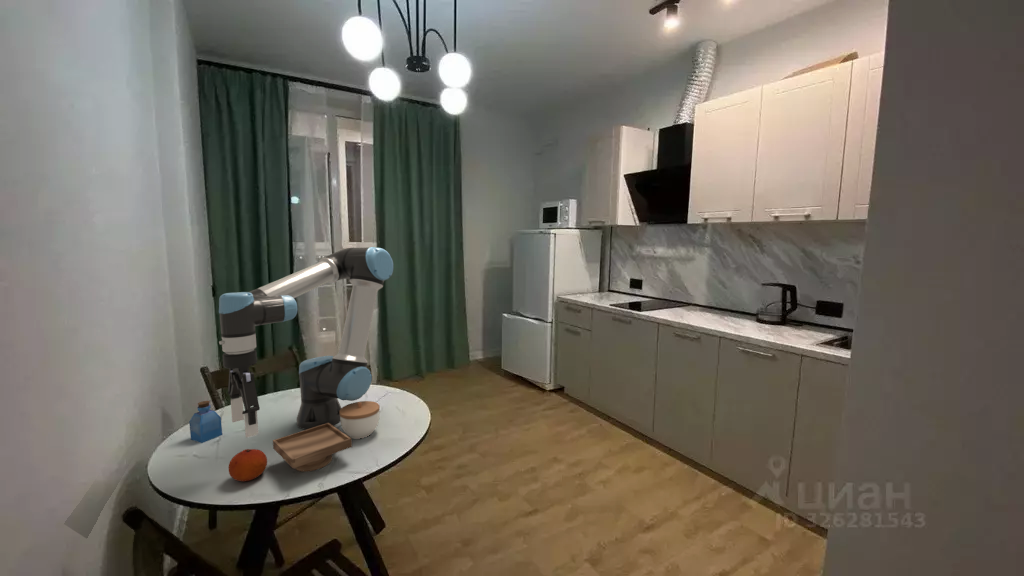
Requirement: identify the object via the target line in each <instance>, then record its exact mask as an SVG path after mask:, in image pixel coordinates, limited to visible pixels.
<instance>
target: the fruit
mask: <svg viewBox="0 0 1024 576" xmlns="http://www.w3.org/2000/svg"><path fill="white" fill-rule="evenodd" d="M267 466H268V458H267V456H266V454H265V452H263V451H262V450H260V449H255V448H254V449H253V448H252V449H250V448H246V449H243V450H241V451H240V452H239V453H237V454H235V455H233V456H232V458H231V460H230V461H229V463H228V474H229V476H230V477H231V478H232V479H234V481H239V482H250V481H252V480H255V479H256V478H258V477H259V476H261V475H262V474H263V473H264V472H265V470H266V468H267Z"/></svg>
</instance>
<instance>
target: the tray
mask: <svg viewBox="0 0 1024 576" xmlns="http://www.w3.org/2000/svg"><path fill="white" fill-rule="evenodd" d="M352 439H353V438H351V437H350V436H349V435H347V434H346V433H345V432H344V431H341V430H340V429H338V428H337V427H336V426H334V425H331V424H330V423H326V424H323V425H319V426H316V427H313V428H310V429H303V430H301V431H299V432H294V433H292V434H288V435H285V436H282V437H279V438H276V439H273V440H272V447H273V448H272V449H274V451H275V452H276V453H277V454H278V455H279V456H280V457H281V458H282V459H283V460H284V462H286V463H287V464H288V465H289V466H290V467H291V468H292V469H294V470H296V471H298V472H303V473H304V472H306V473H308V472H314V471H317V470H320V469H323V468H325V467H326V466H328V465H329V464H330V463H332V461H333V454H336V453H340V452H342V451H344V450H346V449H347V450H348V449H350V448H352V447H353V445H352V444H353V443H352V442H353V440H352Z"/></svg>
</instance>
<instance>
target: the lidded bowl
mask: <svg viewBox="0 0 1024 576" xmlns="http://www.w3.org/2000/svg"><path fill="white" fill-rule="evenodd" d="M380 409H381V407H380V403H378V402H376V401H372V400H361V401H354V402H351V403H348V404H346V405H344V406H341V409H340V411H339V413H340V426H341V428H342V430H343V433H344V434H346V435H347V436H349V437H350V438H351V439H353V440H354V439H355V440H359V439H360V438H362V439H365V438H364V437H366V438H367V436H368V437H370V436H371V435H372V434H373V432H374V431H375V430H376V429H377V427H378V425H379V421H380ZM371 433H372V434H371ZM370 434H371V435H370ZM369 435H370V436H369ZM360 440H361V439H360Z"/></svg>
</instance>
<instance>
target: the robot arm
mask: <svg viewBox="0 0 1024 576" xmlns="http://www.w3.org/2000/svg"><path fill="white" fill-rule="evenodd" d="M393 274H394V261H393V258H392V257H391V254H390V253H389V252H388V251H387V250H385V249H384V248H381V247H374V246H371V247H370V246H369V247H348V248H347V247H346V248H344V249H341V250H339V251H336V252H333V253H331V254H328V255H325V256H324V257H321V258H320V259H319V260H318V262H317V263H315V264H312V265H310V266H307V267H306V268H303V269H301V270H298V271H296V272H293V273H292V274H291V273H290V274H288V275H286V276H284V277H282V278H280V279H277V280H275V281H272V282H269V283H267V284H265V285H262V286H260V287H258V288H256V289H252V290H250V291H241V292H237V291H236V292H226V293H223V294H221V295H220V296H219V299H218V306H219V307H218V313H219V323H220V335H221V340H219V341H218V343H219V345H221V347H222V349H221V350H222V352H224V353H223V354H222V364H223V365H222V366H223V367H224V368H225V369H229V373H228V386H227V387H228V388H227V394H228V395H229V399H230V408H231V409H230V412H231V422H232V423H236V422H241V421H244V433H245V438H251V437H254V436H255V437H256V436H257V435H259V422H258V419H259V418H258V411H260V405H259V398H258V393H257V388H256V383H255V373H254V372H252V371H250V367H251V366H254V365H255V364H257V363H258V355H257V354H258V353H257V350H256V349H257V338H256V336H257V335H256V327H258V326H263V325H268V324H274V323H275V324H276V323H284V322H287V321H291V320H293V319H294V318H295V317H296V316H297V314H298V304H297V301H296V298H297V297H300V296H302V295H304V294H307V293H308V292H310V291H312V290H314V289H316V288H319V287H321V286H323V285H325V284H327V283H331V284H332V283H336V282H338V281H341V280H348V279H349V283H350V284H351V286H352V288H351V289H352V290H351V294H350V298H349V301H348V302H349V303H348V306H347V312H346V317H345V321H344V325H343V330H342V335H341V340H340V343H339V349H338V352H337V354H335V355H334V356H333V355H324V356H317V357H313V358H308V359H305V360H303V361H301V362H300V364H299V366H298V375H299V388H300V406H299V409H298V413H297V417H296V425H297V427H298V428H299V429H302V430H307V429H310V428H313V427H316V426H319V425H323V424H326V423H330V424H331V425H333V426H334V425H337V424H338V423H339V421H340V413H339V411H340V409H341V408H342V406H341V403H340V401H349V402H353V401H354V402H355V401H357V400H359V399H361V398H362V397H363V396H364V395H365V394H367V392H368V391H369V389H370V387H371V384H372V381H373V380H372V379H373V376H372V374H371V370H370V369H369V368H368V363H369V362H368V360H367V359H366V357H365V354H366V349H367V344H368V339H369V335H370V331H371V330H370V329H371V326H372V325H371V324H372V319H373V314H374V311H375V310H374V309H375V305H376V299H377V296H378V291H379V290H381V289H383V287H384V283H385V281H386V280H389V279H390V277H392V275H393ZM339 400H340V401H339ZM340 422H341V421H340Z"/></svg>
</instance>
